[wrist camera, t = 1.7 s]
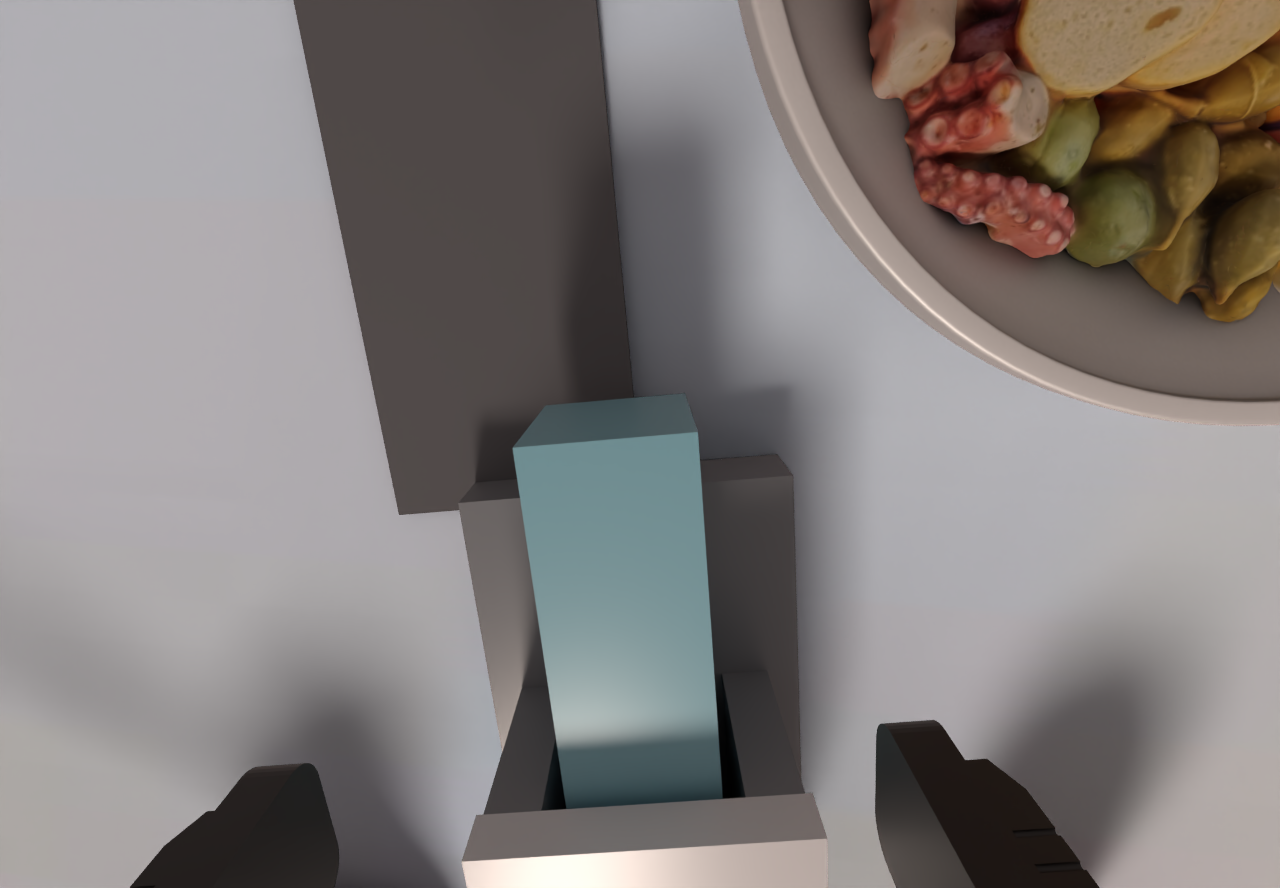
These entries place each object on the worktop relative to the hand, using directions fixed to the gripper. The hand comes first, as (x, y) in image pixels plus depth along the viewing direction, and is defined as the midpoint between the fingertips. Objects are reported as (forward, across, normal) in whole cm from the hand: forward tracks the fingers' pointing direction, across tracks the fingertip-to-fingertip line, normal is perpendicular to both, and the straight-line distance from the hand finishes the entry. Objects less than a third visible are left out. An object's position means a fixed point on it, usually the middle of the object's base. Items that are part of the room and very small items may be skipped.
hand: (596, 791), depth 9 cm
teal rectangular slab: (+12, 0, +4) cm, 12 cm away
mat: (+14, +4, -8) cm, 17 cm away
